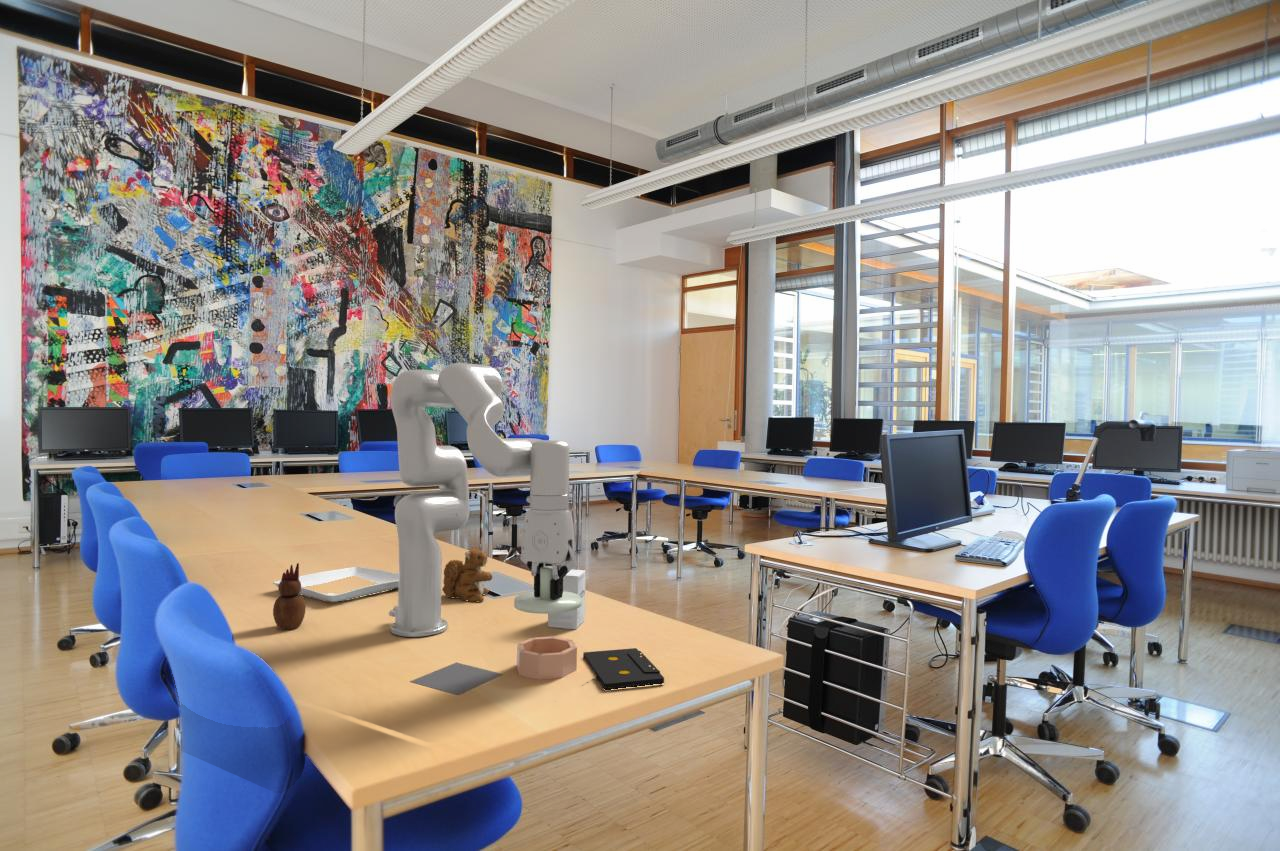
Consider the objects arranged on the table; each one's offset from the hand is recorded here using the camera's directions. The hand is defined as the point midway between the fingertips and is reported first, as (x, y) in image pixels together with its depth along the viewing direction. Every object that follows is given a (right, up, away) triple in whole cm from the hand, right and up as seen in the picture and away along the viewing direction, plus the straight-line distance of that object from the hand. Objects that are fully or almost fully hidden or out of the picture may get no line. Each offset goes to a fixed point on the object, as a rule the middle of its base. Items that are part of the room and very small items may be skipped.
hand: (548, 596), depth 139 cm
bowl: (0, -15, 0) cm, 15 cm away
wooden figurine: (-63, -14, +25) cm, 69 cm away
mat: (-16, -15, -6) cm, 23 cm away
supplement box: (0, -15, +32) cm, 35 cm away
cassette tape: (+14, -16, +1) cm, 21 cm away
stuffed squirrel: (-30, -14, +56) cm, 65 cm away
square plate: (-65, -14, +61) cm, 90 cm away
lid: (0, -2, 0) cm, 2 cm away
